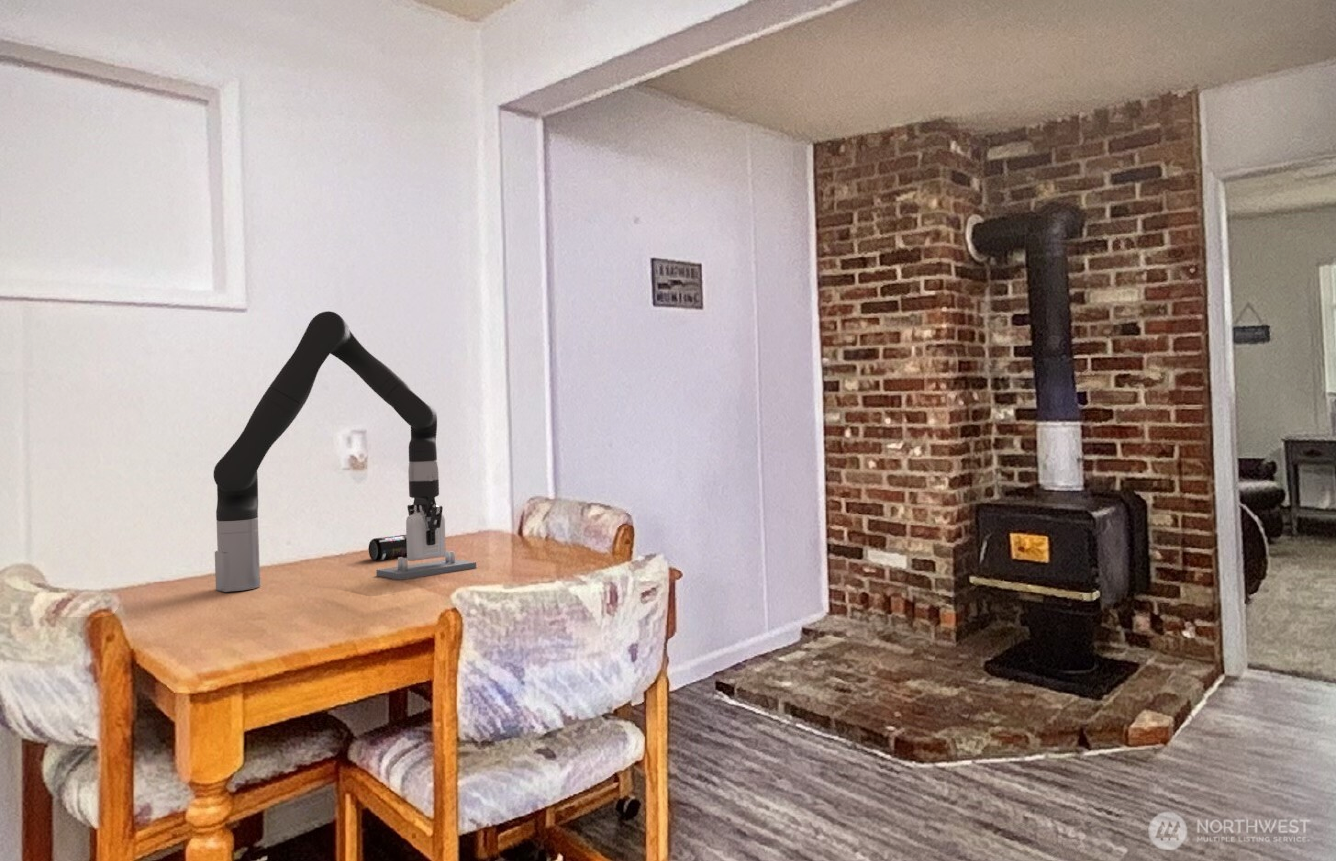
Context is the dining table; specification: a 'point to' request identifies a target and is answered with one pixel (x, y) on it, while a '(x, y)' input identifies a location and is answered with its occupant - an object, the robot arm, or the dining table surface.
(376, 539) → the supplement container
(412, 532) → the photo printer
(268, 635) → the dining table surface
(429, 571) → the pin dock
